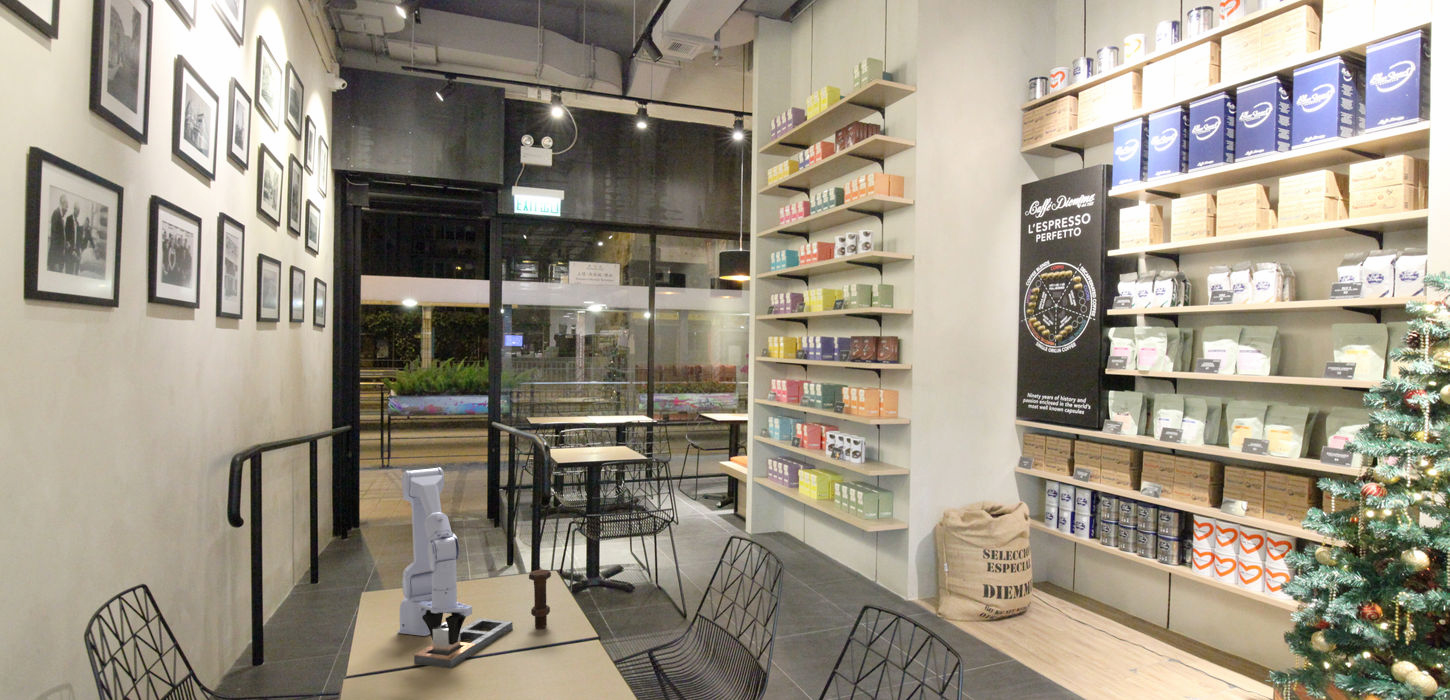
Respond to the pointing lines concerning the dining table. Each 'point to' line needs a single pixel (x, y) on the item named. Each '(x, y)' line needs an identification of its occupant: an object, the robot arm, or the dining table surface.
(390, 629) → the dining table surface
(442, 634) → the grey rectangular block
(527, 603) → the dining table surface
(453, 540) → the robot arm
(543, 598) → the bolt
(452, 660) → the frame with rectangular openings
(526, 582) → the dining table surface
